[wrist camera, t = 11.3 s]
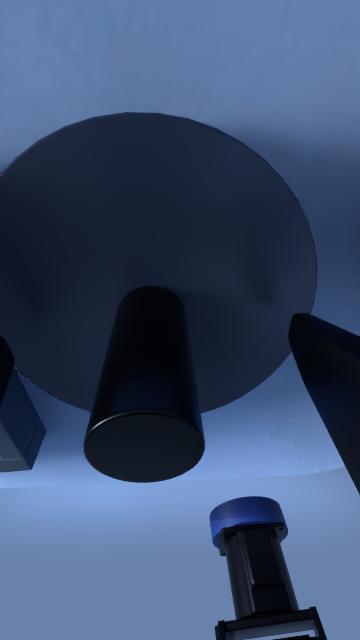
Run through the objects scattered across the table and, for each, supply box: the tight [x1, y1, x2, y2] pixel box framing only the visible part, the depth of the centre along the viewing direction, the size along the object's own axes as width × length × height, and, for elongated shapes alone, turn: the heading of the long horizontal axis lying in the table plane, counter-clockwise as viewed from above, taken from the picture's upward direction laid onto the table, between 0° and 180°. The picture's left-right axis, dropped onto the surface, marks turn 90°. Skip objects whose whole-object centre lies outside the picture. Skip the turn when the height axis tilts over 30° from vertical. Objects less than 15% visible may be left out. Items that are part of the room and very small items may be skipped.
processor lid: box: [0, 112, 317, 483], centre depth 8 cm, size 11×11×6 cm
